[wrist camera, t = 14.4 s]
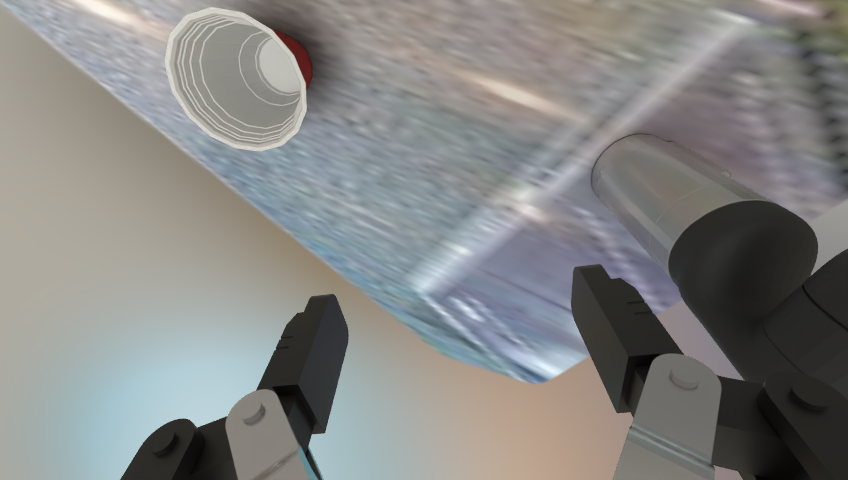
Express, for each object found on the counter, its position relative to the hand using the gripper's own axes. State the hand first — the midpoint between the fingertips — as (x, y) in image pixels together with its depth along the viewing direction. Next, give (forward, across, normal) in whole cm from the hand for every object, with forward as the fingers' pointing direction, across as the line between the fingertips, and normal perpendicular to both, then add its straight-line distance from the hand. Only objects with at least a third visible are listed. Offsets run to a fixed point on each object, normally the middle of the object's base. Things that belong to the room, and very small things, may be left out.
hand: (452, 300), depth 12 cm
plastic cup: (+33, +16, -6) cm, 37 cm away
